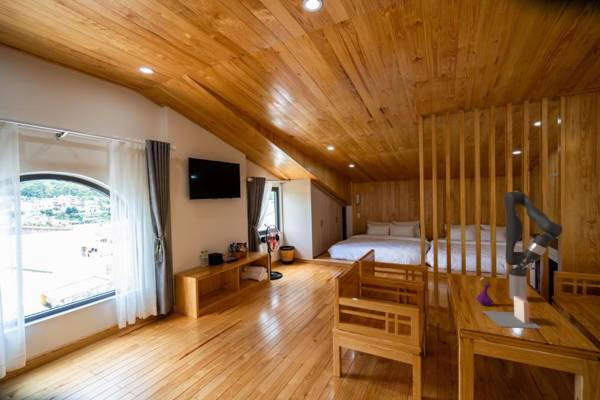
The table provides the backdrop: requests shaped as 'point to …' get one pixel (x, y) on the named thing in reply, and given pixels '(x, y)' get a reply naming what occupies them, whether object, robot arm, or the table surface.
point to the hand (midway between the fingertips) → (519, 273)
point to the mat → (509, 320)
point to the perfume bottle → (485, 295)
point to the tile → (521, 309)
